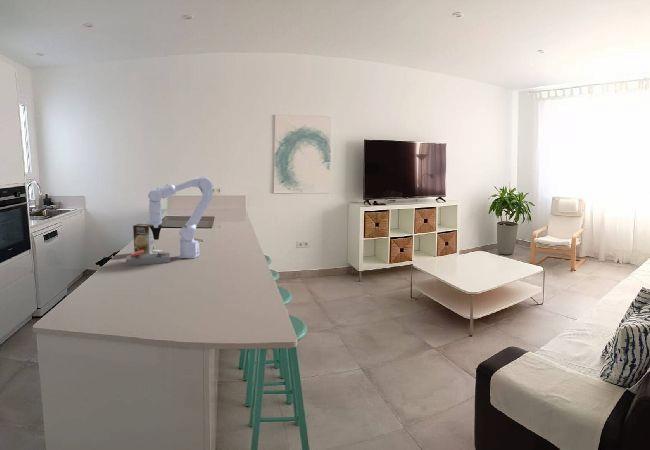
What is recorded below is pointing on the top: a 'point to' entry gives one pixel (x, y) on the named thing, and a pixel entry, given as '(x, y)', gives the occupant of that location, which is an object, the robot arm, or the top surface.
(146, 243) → the coffee box
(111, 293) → the top surface
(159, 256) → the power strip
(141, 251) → the red rocker
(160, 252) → the white rocker
